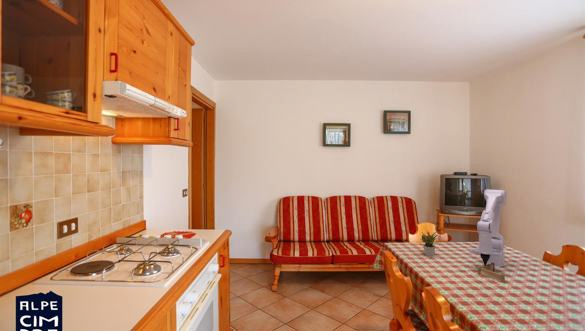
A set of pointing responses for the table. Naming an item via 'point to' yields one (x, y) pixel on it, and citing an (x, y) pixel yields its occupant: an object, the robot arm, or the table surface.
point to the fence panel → (489, 267)
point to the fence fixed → (491, 274)
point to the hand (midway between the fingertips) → (485, 267)
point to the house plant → (429, 244)
